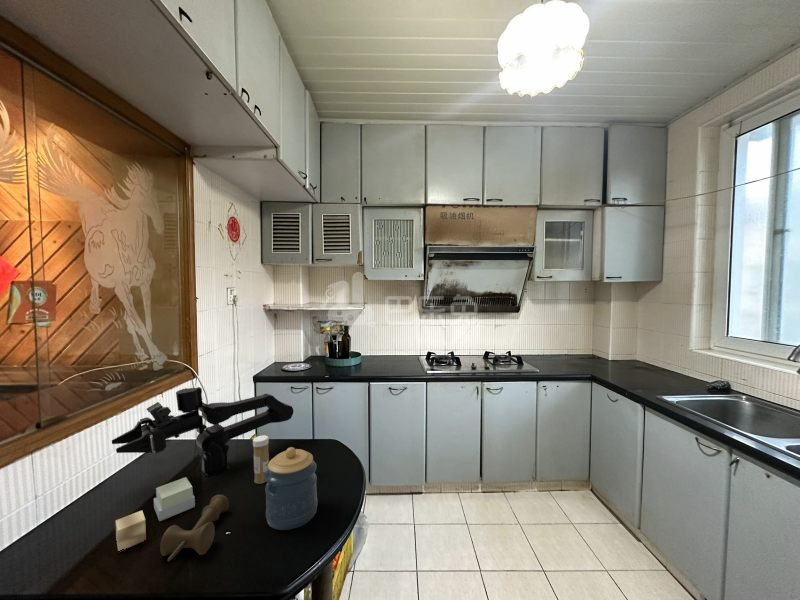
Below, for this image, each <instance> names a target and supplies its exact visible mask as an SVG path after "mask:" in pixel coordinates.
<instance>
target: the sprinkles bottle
mask: <svg viewBox="0 0 800 600" xmlns="http://www.w3.org/2000/svg"><path fill="white" fill-rule="evenodd" d="M269 438H270V437H269V436H268V435H264V434H263V435H258V436H256V437H254V438H253V439H252V446H253V471H254V480H253V481H254V484H257V485H260V484H261V485H262V484H264V483H265V484H266V483H267V481H266V479H265V473H266V471H267V469H268V464H269V462H270V454H269V444H270V440H269Z"/></svg>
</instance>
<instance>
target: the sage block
mask: <svg viewBox="0 0 800 600" xmlns="http://www.w3.org/2000/svg"><path fill="white" fill-rule="evenodd" d="M155 490H156V491H155V493H156V498H157V501H158V503H159V505H160V507H161V509H162V510H163V509H166V508H168V507H170V506H173V505H175V504H178V503H180V502H183V501H185V500H188V499H190V498H193V495H194V492H193V486H192V483H191V482H190V481H189V479H188V477H186V476H185V477H182V478H180V479H179V478H178V480H174V481H171V482H169V483H166V484H164V485H160V486H158V487H156V488H155Z"/></svg>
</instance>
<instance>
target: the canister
mask: <svg viewBox="0 0 800 600" xmlns="http://www.w3.org/2000/svg"><path fill="white" fill-rule="evenodd" d="M316 471H317V463H316V461H314V456H313V454H312V453H310V452H309V451H306V450H304V449H301V448H299V449H298V448H295V447H293V446H290V447H288V448H287V449H286V450H284V451H282V452H280V453H278V454H276V455H275V456H274V457H272V458H271V460H269V464H268V469H267V471H266V473H265V479H266V481H267V482H266V483H265V488H264V491H265V507H266V508H265V518H266V522H267V524H268V526H269V527H271V528H272V529H275V530H276V531H277V530H279V531H290V530H293V529H297V528H300V527H302V526H303V525H306V524H307V523H308V522H310V521H311V520H312V519H313V518H314V517H315V515H316V513H317V508H318V497H317V496H318V495H317V493H318V492H317V481H318V477H317V474H316V473H315V472H316Z"/></svg>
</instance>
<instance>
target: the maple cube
mask: <svg viewBox="0 0 800 600" xmlns="http://www.w3.org/2000/svg"><path fill="white" fill-rule="evenodd" d="M146 529H147V528H146V517H145V515H144V512H143V510H139V511H136V512H134V513H132V514H129V515H126V516H124V517H121V518H119V519H116V520H115V538H116V539H115V541H117V542H116V545H117V547H116V548H117V552H118V551H120V550H122V549H124V550H126V548H127V549H128V548H131V547H133V546H135V545H138V544H140V543H142V542H145V541H146V540H147V533H146ZM144 540H145V541H144ZM122 551H123V550H122ZM120 552H121V551H120Z"/></svg>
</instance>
